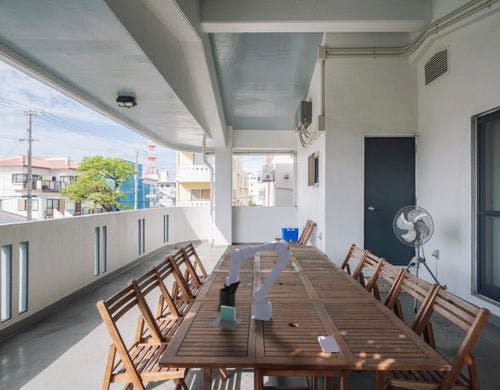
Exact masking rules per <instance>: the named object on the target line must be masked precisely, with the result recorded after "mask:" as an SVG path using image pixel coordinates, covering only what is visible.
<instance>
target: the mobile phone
mask: <svg viewBox="0 0 500 390" xmlns="http://www.w3.org/2000/svg"><path fill="white" fill-rule="evenodd" d="M317 340H318V342H319V345H320V347H321V350H322V352H323V351H324V352H323V353H325V352H327V353H326V354H332V353H331V352H339V351H341V349H340V347H339V345H338V343H337V341H336V339H335V337H334V336H332V335H331V336H328V335H325V336H324V335H321V336H320V335H319V336H317ZM339 349H340V350H339Z"/></svg>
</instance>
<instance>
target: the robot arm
mask: <svg viewBox="0 0 500 390" xmlns="http://www.w3.org/2000/svg"><path fill="white" fill-rule="evenodd" d="M265 251H272V252H275V253H276V255H277V257H278V260H279V261H277V263H276V265H275V266H274V267H273V269H272V270H271V271H270V273H269V274H268V276H267V277H266V279H265V280H264V282H263V283H262V285H261V286H258V287H257V289H256V290H255V292H254V293H253V295H252V297H253V315H252V317H251V319H253V320H260V321H266V322H269V321H270V320H271V318H272V317H273V305H272V302H271V301H268V297H267V296H268V294H269V291H270V289H271V287H272V286H273V285H274V283H275V282H276V281H277V279H278V278H279V276H280V275H281V273H282V272H283V270H285V268H286V267H287V265H288V264H289V263H290V244H289V242H288V241H287V240H286V239H280V240H273V241H269V242H266V243H263V244H260V245H256V246H253V245H250V244H248V245H246V246H245V247H239V248H235V249H234V250H232V251H231V253H230V263H229V268H228V269H229V270H228V276H226V277H225V279H226V280H227V281H226V282H225V283H224V284H223V288H225V292H226V297H228V298H230V296H231V293H234V294H235V295H236V292H237V290H238V287H239V285H240V284H241V280H240V272H241V271H240V270H241V266H242V265H241V264H242V259H247V258H251V257H254V256H256V253H260V252H265Z"/></svg>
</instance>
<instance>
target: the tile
mask: <svg viewBox="0 0 500 390" xmlns="http://www.w3.org/2000/svg"><path fill="white" fill-rule="evenodd" d="M236 311H237V308H236V306H232V307H228V306H220V316H221V320H227V321H234V322H235V321H236V319H237V318H236V317H237V316H236Z"/></svg>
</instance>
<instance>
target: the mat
mask: <svg viewBox="0 0 500 390" xmlns="http://www.w3.org/2000/svg"><path fill="white" fill-rule="evenodd" d="M242 321H243V319H240V318H236V321H235V322H234V321H227V320H221V315H218V316H217V317H216V318H215V319H213V320H212V321H211V322H210V323H209V324H208V326H209V327H216V328H221V329H229V330H235V329H236V328H237V326H239V325H240V323H241V322H242Z"/></svg>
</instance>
